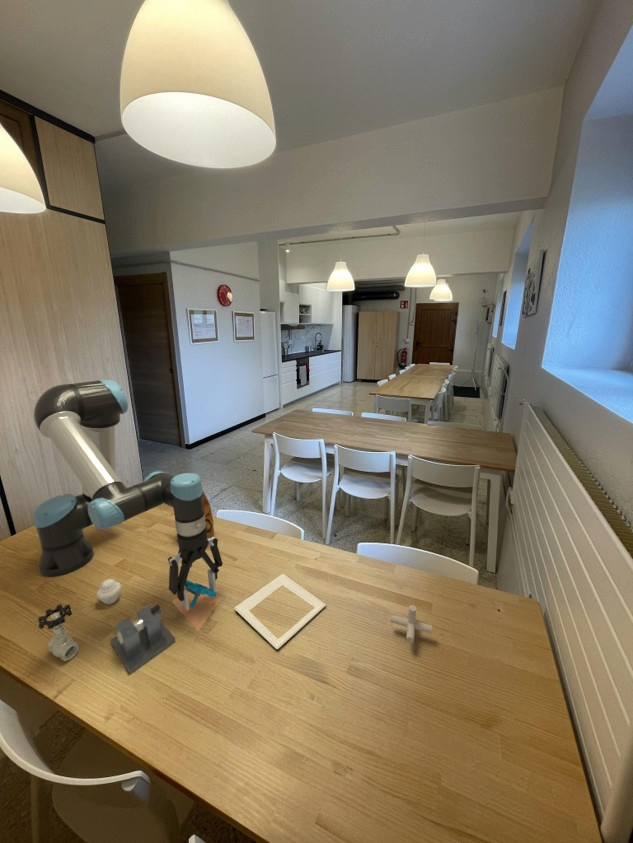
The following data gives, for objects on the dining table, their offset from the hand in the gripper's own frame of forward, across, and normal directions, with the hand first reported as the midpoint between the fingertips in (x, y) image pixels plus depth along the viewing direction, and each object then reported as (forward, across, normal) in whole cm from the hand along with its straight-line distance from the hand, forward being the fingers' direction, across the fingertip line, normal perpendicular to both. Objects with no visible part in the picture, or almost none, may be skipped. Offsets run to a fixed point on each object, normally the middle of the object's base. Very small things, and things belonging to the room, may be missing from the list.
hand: (199, 598), depth 95 cm
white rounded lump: (+3, -16, +22) cm, 28 cm away
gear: (+1, +2, 0) cm, 3 cm away
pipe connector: (+3, +30, -51) cm, 59 cm away
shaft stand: (+3, -16, 0) cm, 16 cm away
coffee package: (+3, +16, +29) cm, 33 cm away
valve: (+3, -30, +12) cm, 32 cm away
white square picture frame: (+3, +14, -19) cm, 24 cm away
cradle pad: (+3, 0, 0) cm, 3 cm away
